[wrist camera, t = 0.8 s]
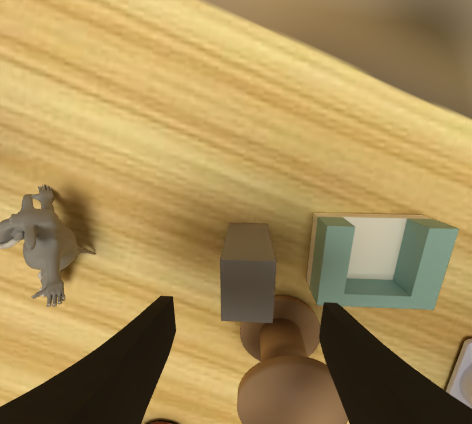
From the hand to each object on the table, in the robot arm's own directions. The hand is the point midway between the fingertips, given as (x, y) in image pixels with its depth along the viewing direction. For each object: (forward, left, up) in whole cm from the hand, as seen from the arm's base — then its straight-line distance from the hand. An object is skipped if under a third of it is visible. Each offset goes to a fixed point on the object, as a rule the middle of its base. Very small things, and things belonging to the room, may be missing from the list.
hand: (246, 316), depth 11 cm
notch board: (-9, 0, -8) cm, 12 cm away
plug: (0, 0, -8) cm, 8 cm away
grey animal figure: (+14, 0, -8) cm, 16 cm away
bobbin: (-3, +8, -8) cm, 12 cm away
